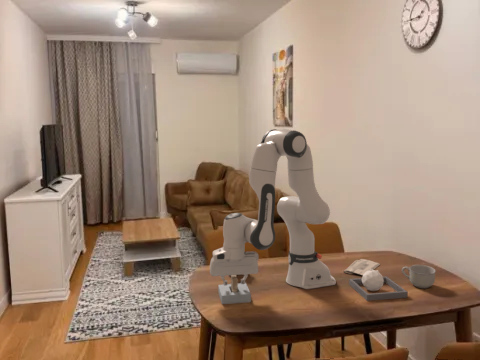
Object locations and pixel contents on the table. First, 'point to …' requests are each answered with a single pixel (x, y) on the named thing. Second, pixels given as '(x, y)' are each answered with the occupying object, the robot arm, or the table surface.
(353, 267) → the newspaper
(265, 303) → the table surface
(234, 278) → the wooden peg
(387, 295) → the grey rectangular frame
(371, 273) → the decorative ball
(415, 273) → the teacup
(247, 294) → the grey peg hole block
